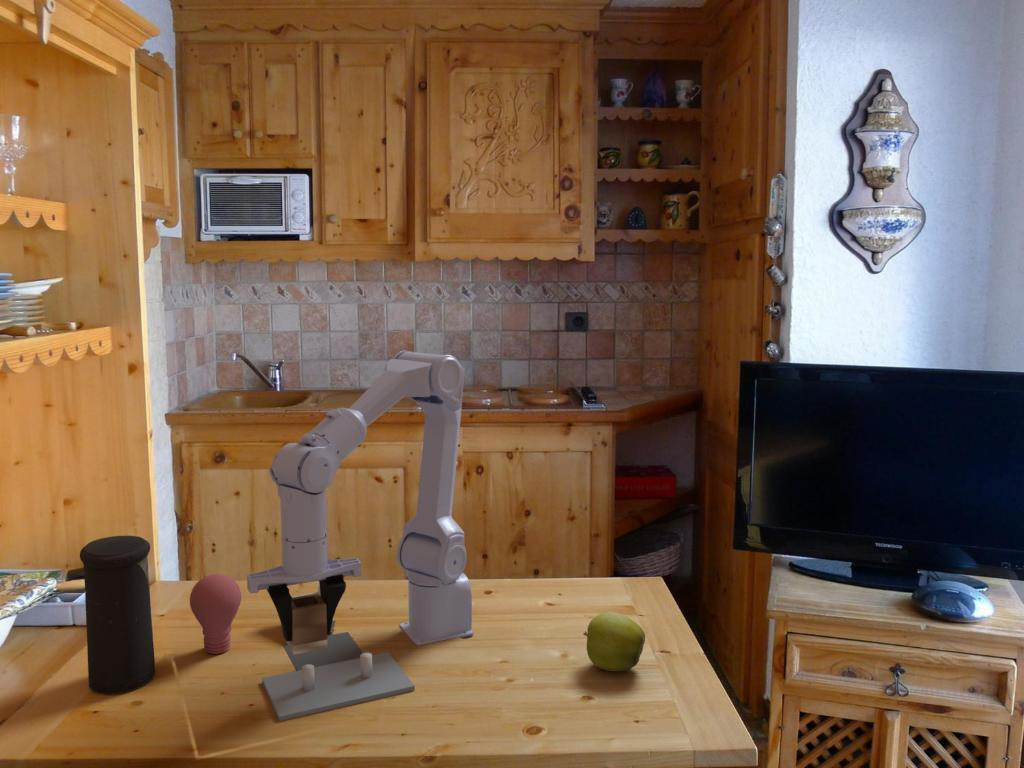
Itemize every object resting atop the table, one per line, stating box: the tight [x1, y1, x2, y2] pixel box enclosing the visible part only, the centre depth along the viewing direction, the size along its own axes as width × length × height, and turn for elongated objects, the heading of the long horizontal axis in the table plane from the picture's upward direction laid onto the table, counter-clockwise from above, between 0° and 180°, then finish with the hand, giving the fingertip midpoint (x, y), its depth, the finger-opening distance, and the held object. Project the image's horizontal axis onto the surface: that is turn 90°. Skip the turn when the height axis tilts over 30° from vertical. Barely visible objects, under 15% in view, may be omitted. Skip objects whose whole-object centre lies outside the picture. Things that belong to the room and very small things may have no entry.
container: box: [79, 535, 156, 695], centre depth 118 cm, size 9×9×20 cm
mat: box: [282, 631, 364, 671], centre depth 128 cm, size 10×10×1 cm
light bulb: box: [189, 573, 242, 655], centre depth 127 cm, size 7×7×12 cm
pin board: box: [261, 652, 416, 722], centre depth 117 cm, size 18×11×4 cm, turn 117°
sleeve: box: [286, 593, 328, 655], centre depth 115 cm, size 4×4×6 cm
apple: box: [582, 611, 646, 672], centre depth 124 cm, size 8×9×8 cm
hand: (307, 634), depth 115 cm, fingers closed on sleeve, 4 cm apart
